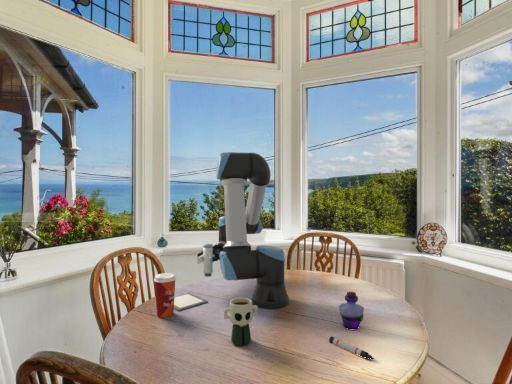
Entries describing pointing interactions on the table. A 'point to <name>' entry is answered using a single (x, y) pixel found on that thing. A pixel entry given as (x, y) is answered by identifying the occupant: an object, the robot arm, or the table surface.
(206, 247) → the thick grey marker
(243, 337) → the character mug
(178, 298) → the writing board
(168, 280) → the coffee cup
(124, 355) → the table surface
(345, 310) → the potion bottle
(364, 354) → the marker
